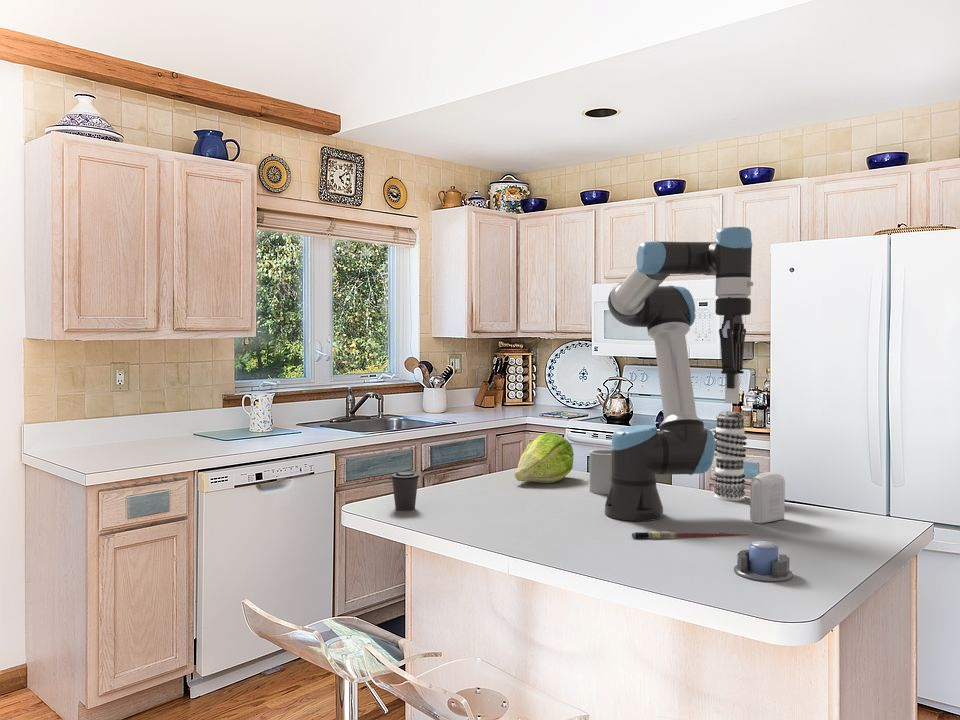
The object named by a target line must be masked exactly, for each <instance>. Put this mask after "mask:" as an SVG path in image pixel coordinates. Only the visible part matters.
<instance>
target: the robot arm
mask: <svg viewBox="0 0 960 720" xmlns="http://www.w3.org/2000/svg"><path fill="white" fill-rule="evenodd" d="M715 236H716V237H715V241H659V240H654V241H644V242H641V243H640V244H639V246H638V248H637V251H636V265H635V267H634V269H633V270H632V271H631V272H629V274H628V275H627V277H626V278H625V279H624V280H623V281H622V282H621V281H620V282H619V283H617V284H615V285H614V287H613V288H612V290H611V291H610V292H609V295H608V297H607V298H608V299H607V306H608V310H609V312H610V314H611V315H612V317H613V318H614V319H615V320H617V321H618V322H619V323H621V324H623V325H626V326H628V327H633V328H646V330H647V335H648V336H649V338H652V339H653V340H654V348H655V349H654V350H655V356H656V365H657V372H658V374H657V375H658V379H659V381H658V383H659V387H660V388H659V389H660V396H661V398H660V399H661V405H662V413H663V420H662V422H661V423H660V424H659V430H658V428H657V426H656V425H653V424H638V425H637V424H636V425H630V426H629V425H628V426H623V427H620V428H617V429H616V430H615V431H613V433H612V436H611V445H610V450H612V484H611V488H610V491H609V494H608V495H607V498H606V500H605V504H604V515H606V516H607V517H610V518H613V519H616V520H617V519H618V520H622V521H632V522H633V521H634V522H635V521H639V522H641V521H643V522H646V521H654V520H655V521H656V520H659V519H661V518H662V517H664V516H663V515H664V507H663V504H662V503H663V502H662V500H661V497H660V494H659V491H658V487H657V476H659V475H664V476H665V475H666V476H667V475H668V476H669V475H689V476H693V475H698V474H699V475H700V474H705V473H706V472H708V471H709V470H710V469H711V467H712V464H713V462H714V458H715V453H716V451H715V441H716V439H715V438H714V435H715V434H713V433H714V432H712V431H711V430H710V429H708V428H706V429H705V424H704V421H703V420H702V419H701V418H700V417H698V416H697V410H696V402H695V397H694V396H695V395H694V389H693V387H694V386H693V380H692V372H691V366H690V361H689V360H690V359H689V351H688V345H687V337H686V335H687V334H688V333H689V332H690V330H691V327H692V325H694V323H695V320H696V305H695V300H694V298H693V294H692V293H691V292H690V290H689V289H688V288H686V287H684V286H675V285H666V286H665V285H662V283H663V282H664V281H665V280H666V279H667V278H668V277H669V276H670V275H704V276H715V296H716V297H717V298H716V300H715V314H716V315H717V316H723V320H722V323H721V328H719V329H718V334H719V338H720V353H721V354H720V355H721V371H720V373H721V374H722V375H725V376H724V378H725V379H724V382H725V383H724V387H725V388H724V403H725V404H740V375H742V374H744V372H745V371H744V370H743V364H744V352H745V339H746V334H747V329H746V328H745V323H743V316H750V314H751V313H752V300H751V298H749V296H751V295H752V287H753V286H754V282H753V281H752V252H753V242H752V241H753V240H752V231H751V229H750V228H748V227H745V226H729V227H721V228H719V229H717V231H716V235H715Z"/></svg>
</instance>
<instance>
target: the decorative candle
mask: <svg viewBox="0 0 960 720" xmlns="http://www.w3.org/2000/svg"><path fill="white" fill-rule="evenodd" d="M715 418H716V427H715V430H713V433H714V434H713V435H714V439H715V454H714V458H715V461H716V463H715V465H716V466H715V472H714V473H713V475H714V476H715V478H714V479H713V480H714V482H715V483H714V484H713V487H714V490H713V492H714V499H718V500H721V501H731V502H736V501H743V500H745V495H746V492H745V489H746V486H745V485H744V484H745V482H746V480H745V479H744V478H746V474H745V468H744V464H745V463H744V460H745V459H746V457H747V454H745V453H746V451H747V449H746V448H744V446H746V445H747V444H748V443H747V442H746V441H745V440H747V436H745V435H744V434H745V427H744V425H745V421H744V420H745V419H746V417H744V416H743V414H742V412H740V411H724V410H723V411H721V412H719V413H718V415H717V416H715ZM742 497H744V498H742Z"/></svg>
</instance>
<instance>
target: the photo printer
mask: <svg viewBox="0 0 960 720" xmlns="http://www.w3.org/2000/svg"><path fill="white" fill-rule="evenodd" d="M785 492H786V481H785V478H784V476H783V475H782V474H780V473H778V472H772V471H765V472H762V473H759V474H756V476H754V477H753V478H752V480H751V482H750V502H749V503H750V506H749V514H750V515H749V519H750V521H751V522H752V523H755V524H763V523H764V524H765V523H770V522H775V521H780V520H784V519H785V499H786V497H785V495H786V493H785Z"/></svg>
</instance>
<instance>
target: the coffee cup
mask: <svg viewBox="0 0 960 720" xmlns="http://www.w3.org/2000/svg"><path fill="white" fill-rule="evenodd" d="M420 477H421V475H420V474H419V473H418V472H417V473H416V472H414V471H408V470H407V471H403V470H402V471H398V472H394V473H392V474H391V475H390V478H391V481H392V483H391V484H392V489H393V497H394V498H393V499H394V506H395V507H394V508H395V510H396V511H403V512H404V511H413V510H415V509H416V501H417V492H418V481H419V478H420Z"/></svg>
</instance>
